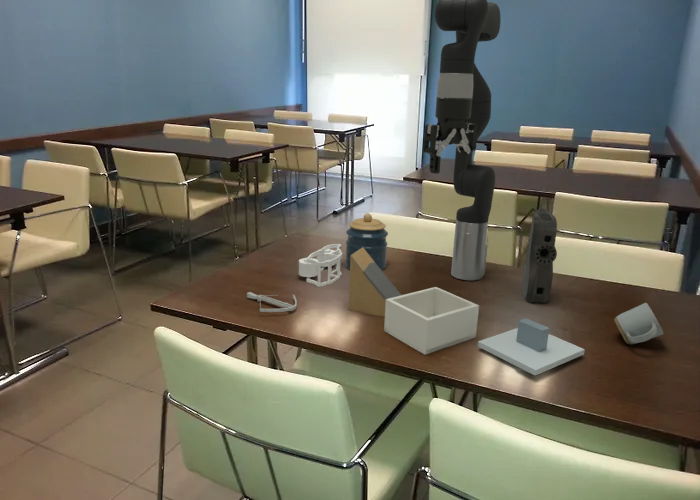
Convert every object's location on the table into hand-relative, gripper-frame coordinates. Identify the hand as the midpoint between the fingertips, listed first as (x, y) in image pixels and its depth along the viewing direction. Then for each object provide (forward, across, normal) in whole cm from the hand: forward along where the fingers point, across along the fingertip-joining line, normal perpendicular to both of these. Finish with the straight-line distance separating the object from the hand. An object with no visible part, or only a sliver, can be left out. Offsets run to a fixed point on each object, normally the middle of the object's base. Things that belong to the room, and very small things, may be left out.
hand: (448, 171), depth 121 cm
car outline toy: (+38, +2, -45) cm, 59 cm away
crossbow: (+38, +27, -34) cm, 57 cm away
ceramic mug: (+38, -31, +33) cm, 59 cm away
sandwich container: (+38, +5, -15) cm, 41 cm away
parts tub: (+37, +5, +3) cm, 38 cm away
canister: (+38, -12, -43) cm, 58 cm away
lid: (+36, -7, +22) cm, 43 cm away
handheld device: (+38, -35, +1) cm, 52 cm away
